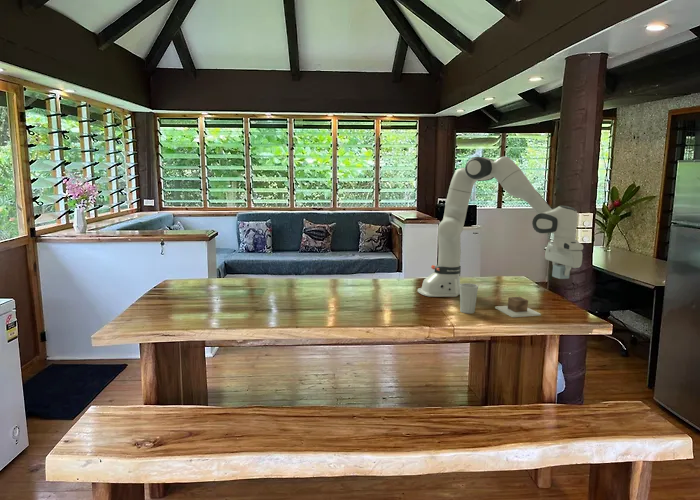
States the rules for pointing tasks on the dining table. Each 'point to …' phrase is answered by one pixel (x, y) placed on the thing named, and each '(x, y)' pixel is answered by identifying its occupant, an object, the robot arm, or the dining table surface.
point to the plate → (517, 314)
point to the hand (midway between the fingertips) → (560, 273)
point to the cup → (468, 297)
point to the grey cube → (559, 272)
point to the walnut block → (517, 304)
